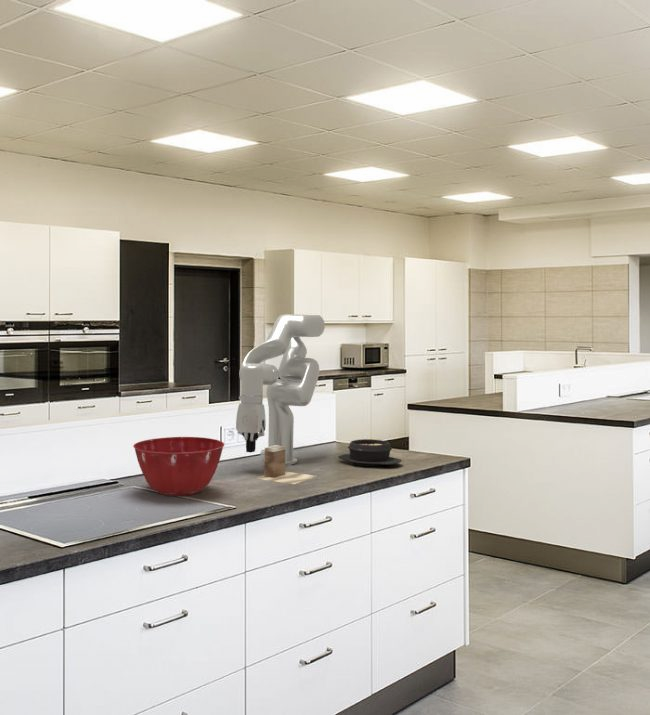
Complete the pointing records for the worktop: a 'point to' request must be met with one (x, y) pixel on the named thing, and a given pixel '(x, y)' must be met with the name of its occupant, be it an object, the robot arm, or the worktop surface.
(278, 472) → the walnut block
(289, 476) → the oak board
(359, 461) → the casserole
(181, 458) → the mixing bowl
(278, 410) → the robot arm
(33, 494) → the worktop surface
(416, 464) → the worktop surface
